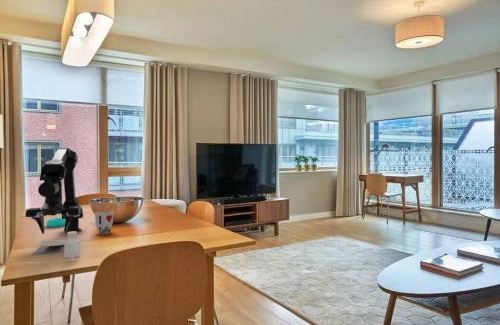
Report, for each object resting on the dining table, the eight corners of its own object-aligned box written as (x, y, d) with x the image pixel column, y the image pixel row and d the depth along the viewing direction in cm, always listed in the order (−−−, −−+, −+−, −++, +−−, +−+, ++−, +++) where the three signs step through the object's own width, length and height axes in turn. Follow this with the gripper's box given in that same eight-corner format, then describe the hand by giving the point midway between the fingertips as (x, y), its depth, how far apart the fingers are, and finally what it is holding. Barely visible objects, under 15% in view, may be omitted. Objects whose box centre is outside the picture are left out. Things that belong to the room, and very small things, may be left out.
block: (49, 240, 145) (41, 240, 134) (65, 239, 146) (58, 239, 135) (49, 245, 144) (41, 246, 133) (65, 244, 146) (58, 245, 135)
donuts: (57, 204, 192) (71, 205, 189) (57, 223, 192) (72, 224, 189) (41, 207, 182) (56, 208, 179) (41, 226, 183) (56, 228, 180)
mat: (42, 246, 145) (42, 245, 145) (74, 244, 149) (74, 243, 149) (31, 255, 132) (31, 254, 132) (66, 253, 135) (66, 252, 135)
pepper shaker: (63, 258, 128) (63, 232, 128) (72, 255, 132) (72, 230, 132) (72, 260, 127) (71, 233, 127) (81, 257, 131) (80, 231, 130)
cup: (95, 236, 163) (95, 214, 163) (94, 232, 170) (94, 212, 170) (114, 234, 167) (114, 213, 166) (112, 230, 174) (112, 210, 174)
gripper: (20, 197, 130) (20, 239, 130) (75, 195, 135) (76, 236, 136) (29, 193, 141) (30, 232, 141) (80, 192, 146) (81, 230, 146)
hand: (54, 233), depth 141 cm, fingers open, 8 cm apart
